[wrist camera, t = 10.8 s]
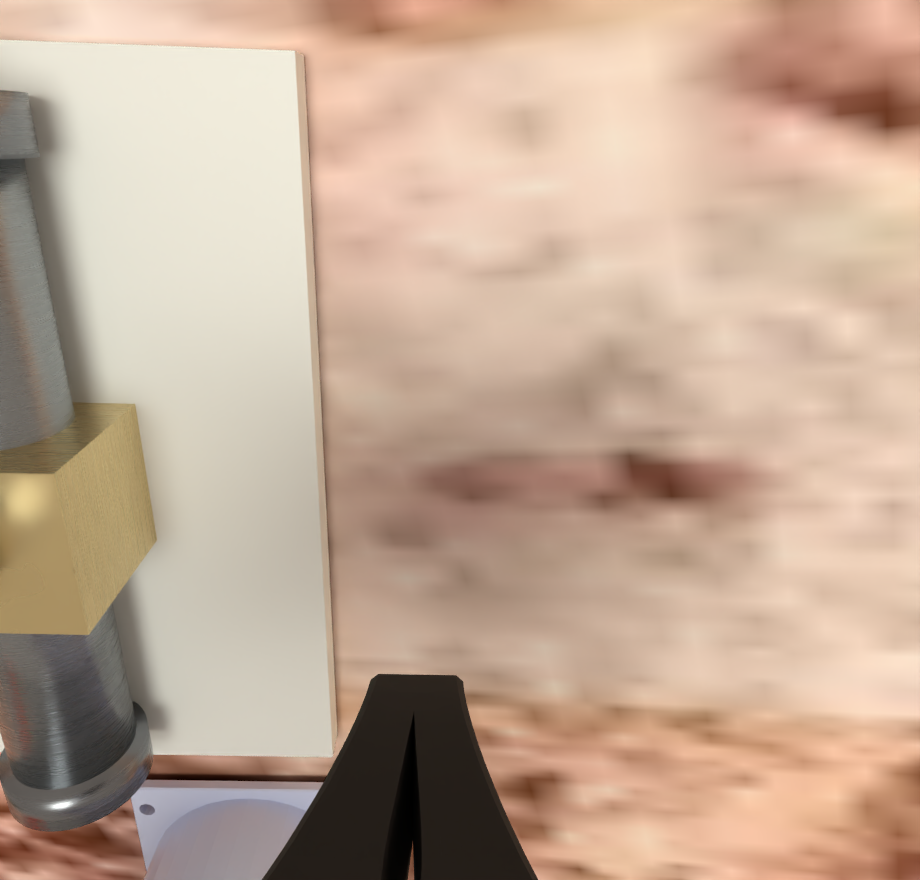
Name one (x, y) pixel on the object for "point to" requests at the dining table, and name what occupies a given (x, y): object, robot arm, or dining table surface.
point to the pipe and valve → (60, 543)
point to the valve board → (198, 368)
